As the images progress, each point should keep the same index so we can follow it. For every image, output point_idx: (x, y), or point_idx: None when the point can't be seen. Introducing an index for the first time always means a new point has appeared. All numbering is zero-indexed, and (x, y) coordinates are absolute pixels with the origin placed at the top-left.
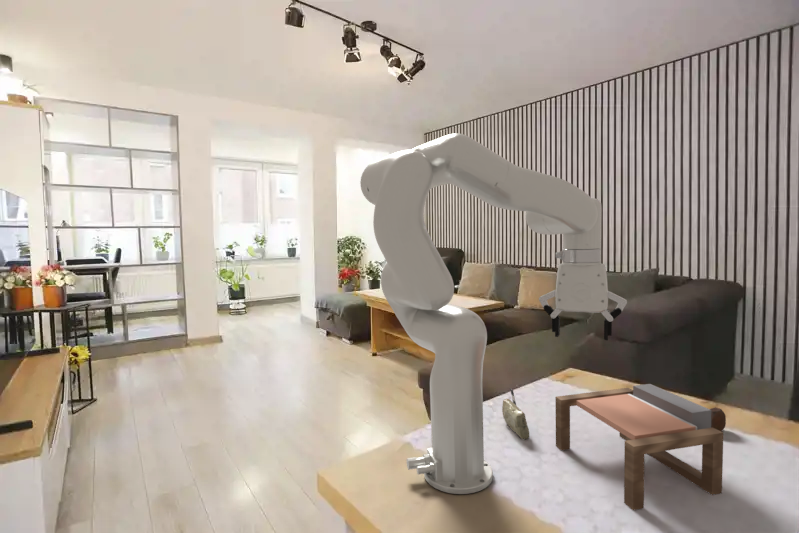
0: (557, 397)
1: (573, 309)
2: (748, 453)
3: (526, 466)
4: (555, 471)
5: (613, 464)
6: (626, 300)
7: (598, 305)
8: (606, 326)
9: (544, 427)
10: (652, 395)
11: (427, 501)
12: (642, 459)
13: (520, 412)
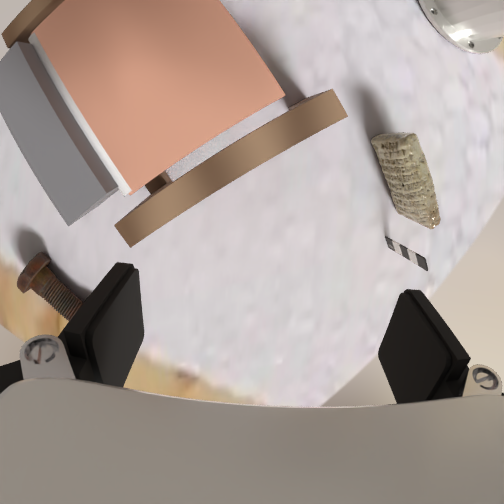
0: (342, 109)
1: (401, 413)
2: (12, 196)
3: (369, 29)
4: (317, 18)
5: None
6: None
7: (47, 443)
8: (88, 308)
9: (336, 201)
10: (67, 130)
11: None
12: None
13: (411, 144)
